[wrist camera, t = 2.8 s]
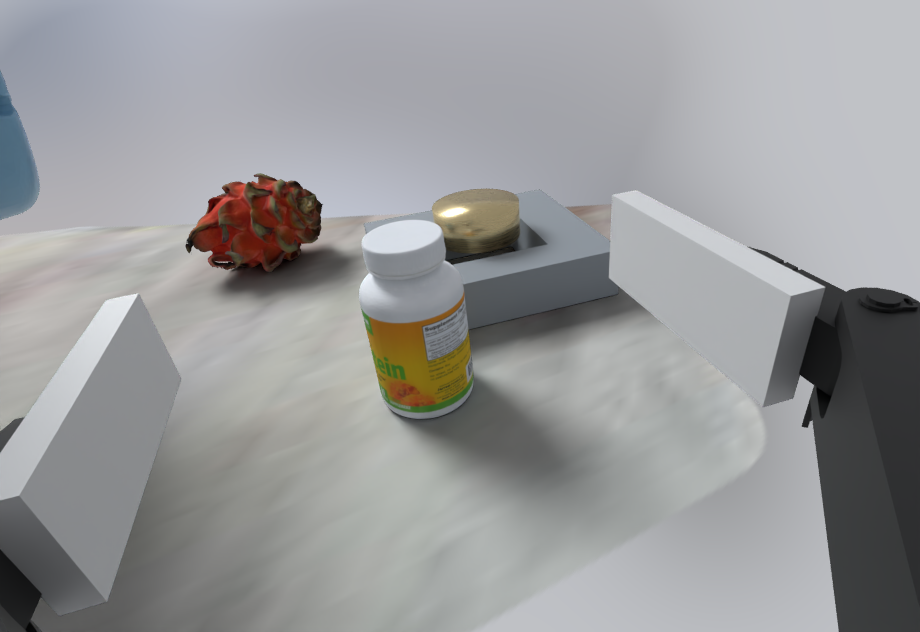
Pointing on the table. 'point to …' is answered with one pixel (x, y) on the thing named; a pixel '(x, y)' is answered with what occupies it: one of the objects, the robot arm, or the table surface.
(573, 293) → the socket plate
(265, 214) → the dragon fruit
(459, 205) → the plunger disc
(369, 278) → the supplement bottle
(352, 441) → the table surface
